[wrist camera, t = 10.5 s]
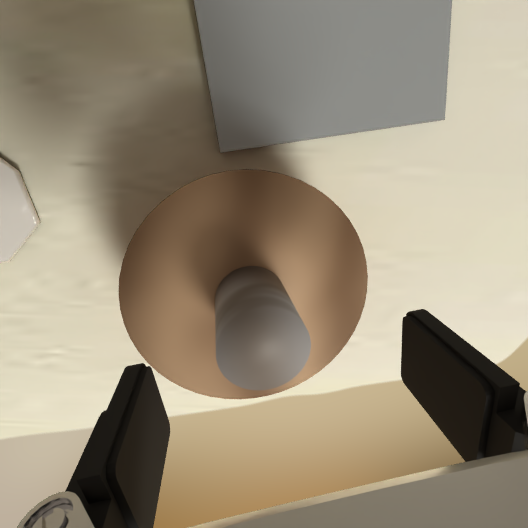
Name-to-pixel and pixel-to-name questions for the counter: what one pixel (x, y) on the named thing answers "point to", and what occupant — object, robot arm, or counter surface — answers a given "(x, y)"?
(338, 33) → the mat
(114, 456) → the robot arm
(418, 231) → the counter surface
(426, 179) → the counter surface
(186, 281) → the lid
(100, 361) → the counter surface
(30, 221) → the wineglass
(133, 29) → the counter surface
